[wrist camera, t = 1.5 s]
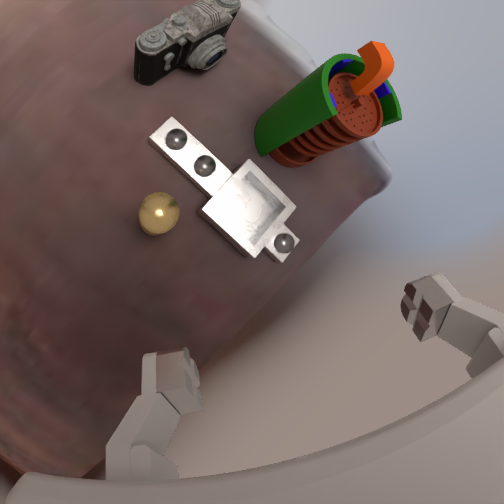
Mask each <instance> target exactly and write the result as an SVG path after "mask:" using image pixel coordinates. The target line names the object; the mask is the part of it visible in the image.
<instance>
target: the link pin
mask: <svg viewBox="0 0 504 504" xmlns="http://www.w3.org/2000/svg"><path fill="white" fill-rule="evenodd" d="M178 218H179V207H178V204H177V202H176V201H175V199H174V198H173V197H172V196H170V195H169V194H166V193H163V192H156V193H152V194H150V195H148V196H147V197H146V198H145V199H144V200H143V201H142V203H141V205H140V208H139V220H140V226H141V228H142V230H143V231H144V232H145V233H147V234H149V235H152V236H157V235H160V234H163V233H165V232H167V231H169V230H170V229H172V228H173V227H174V226H175V224H176V223H177V221H178Z"/></svg>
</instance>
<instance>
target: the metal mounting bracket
mask: <svg viewBox="0 0 504 504" xmlns="http://www.w3.org/2000/svg"><path fill="white" fill-rule="evenodd" d="M149 143H150V144H152V145H153V146H154V147H155V148H156V149H157V150H158V151H159V152H160V153H161V154H162V155H163V156H164V157H166V158H167V159H168V160H169V161H170V162H171V163H172V164H173V165H174V166H175V167H176V168H177V169H178V170H179V171H180V172H182V173H183V174H184V175H185V176H186V177H187V178H188V179H189V180H190V181H191V182H192V183H193V184H194V185H195V186H196V187H198V188H199V189H200V190H201V191H202V192H203V193H204V194H205V195H206V196H207V197H208V198H209V199H208V200H207V201H206V202H205V203H204V204H203V206H202V207H201V208H200V209H199V210H198V211H197V213H198V214H199V215H201V216H202V217H203V218H204V219H205V220H206V221H207V222H208V223H209V224H210V225H211V226H212V227H213V228H215V229H216V230H217V231H218V232H219V233H220V234H221V235H222V236H223V237H224V238H225V239H226V240H228V241H229V242H230V243H231V244H232V245H233V246H234V247H235V248H236V249H237V250H238V251H239V252H241V253H242V254H243V255H244V256H245V257H249V258H256V256H257V255H258V254H259V253H260V251H261V250H262V249H263V250H264V251H265V252H266V253H267V254H268V255H269V256H270V257H271V258H272V259H274V260H275V261H276V262H281V263H282V262H283V261H284V260H285V258H286V257H287V256H288V255H289V253H290V252H291V251H292V250H293V248H294V247H295V246H296V244H297V243H298V242H299V239H298V238H297V237H296V236H295V235H294V234H293V233H292V232H291V231H290V230H289V229H288V228H287V227H286V226H285V225H284V224H283V223H284V222H285V221H286V219H287V218H288V217H289V216H290V214H291V213H292V212H293V211H294V210H295V208H296V206H295V205H294V204H293V203H292V202H291V201H290V200H289V198H288V197H287V196H286V195H285V194H284V193H283V192H282V191H281V190H280V189H279V188H278V187H277V186H276V185H275V184H274V183H273V182H272V181H271V180H270V179H269V178H268V177H267V176H266V175H265V174H264V173H263V172H262V171H261V170H260V169H259V168H258V167H257V166H256V165H255V164H254V163H253V162H252V161H251V160H250V159H248V160H247V161H245V162H244V163H243V164H241V165H240V166H239V167H238V168H237V169H236V170H235V171H234V172H233V173H231V172H230V171H229V170H228V169H227V168H226V167H225V166H224V165H223V164H222V163H221V162H220V161H219V160H218V159H217V158H216V157H215V156H214V155H213V154H212V153H211V152H210V151H208V150H207V149H206V148H205V147H204V146H203V145H202V144H201V143H200V142H199V141H198V140H197V139H196V138H195V137H194V136H192V135H191V134H190V133H189V132H188V131H187V130H186V129H185V128H184V127H183V126H182V125H181V124H179V123H178V122H177V121H176V120H175V119H174V118H173V117H171V118H170V119H169V120H167V121H166V122H165V123H164V124H163V125H162V126H161V127H160V128H159V129H158V130H156V131H155V132H154V133H153V134H152V135H151V136H150V137H149Z"/></svg>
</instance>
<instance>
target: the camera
mask: <svg viewBox="0 0 504 504" xmlns="http://www.w3.org/2000/svg"><path fill="white" fill-rule="evenodd" d="M240 7H241V2H240V0H200V1H196V2H195V3H193V4H190V5H188V6H185V7H183V8H182V9H181V10H179V11H177V12H175V13H173V14H172V15H171V17H170V19H169V18H165V19H164V22H163V23H161V24H159V25H158V26H156V27H154V28H152V29H150V30H147V31H145V32H143V33H142V34H141V35H140V36H139V37H137V40H136V42H135V59H134V78H135V80H136V81H138V82H139V83H140V84H142V85H146V86H151V85H153V84H154V83H156V82H157V81H158V80H160V79H161V78H163V77H164V76H166V75H167V74H169V73H170V72H172V71H173V70H175V69H176V68H178V67H179V66H181V65H182V66H184V67H187V66H191V67H192V68H198V69H203V70H207V69H209V68H211V67H212V66H214V65H215V64H216V63H218V62H219V61H220V60H221V59H222V58H223V57H224V55H225V54H226V53H227V48H226V44H225V42H226V40H225V39H224V36H225V34H226V32H227V30H228V29H229V27H230V25H231V23H232V21H233V19H234V18H235V16H236V14H237V12H238V10H239V9H240Z"/></svg>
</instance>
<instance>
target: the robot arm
mask: <svg viewBox="0 0 504 504" xmlns="http://www.w3.org/2000/svg"><path fill="white" fill-rule="evenodd" d="M404 291H405V293H406V294H405V296H404V297H403V298H402V301H401V312H402V314H403V316H404V318H405V320H406V321H407V322H409V323H411V324H413V328H412V330H413V332H414V333H415V335H416V336H417V338H418V339H419V341H420V342H422V341H425V340H427V339H429V338H432V337H434V336H436V335H437V336H438V337H439V338H441V339H443V340H444V341H446V342H448V343H449V344H451V345H452V346H454V347H456V348H457V349H459V350H460V351H462V352H463V353H465V354H467V355H468V356H470V357H471V358H472V359H471V360H470V362H469V363H468V365H467V367H466V370H467V372H468V373H469V375H470V377H471V378H472V379H471V380H470V381H468V382H466V383H465V384H463V385H462V386H460V387H458V388H457V389H455V390H454V391H452V392H450V393H448V394H447V395H445V396H443V397H442V398H440V399H438V400H437V401H434V402H433V403H431V404H429V405H427V406H425V407H423V408H422V409H419V410H418V411H416V412H414V413H412V414H410V415H408V416H406V417H403V418H401V419H399V420H397V421H395V422H393V423H391V424H388V425H386V426H384V427H382V428H380V429H378V430H375V431H373V432H370V433H368V434H365V435H363V436H360V437H358V438H355V439H353V440H350V441H347V442H344V443H341V444H339V445H336V446H333V447H330V448H327V449H324V450H321V451H318V452H314V453H312V454H308V455H304V456H301V457H298V458H294V459H291V460H286V461H283V462H279V463H274V464H270V465H266V466H261V467H257V468H252V469H247V470H242V471H237V472H231V473H224V474H217V475H210V476H203V477H194V478H183V479H179V473H178V466H177V465H176V464H175V463H173V462H171V461H170V460H168V459H166V458H164V457H163V456H164V454H165V452H166V449H167V447H168V445H169V443H170V440H171V438H172V436H173V434H174V432H175V429H176V427H177V425H178V422H179V420H180V418H181V415H183V414H189V413H194V412H199V411H203V402H202V395H201V393H200V391H199V390H198V387H199V385H200V378H199V373H198V369H197V366H196V364H195V362H194V360H193V359H191V358H190V355H189V351H188V349H187V348H186V347H183V348H177V349H171V350H165V351H159V352H154V353H148V354H144V356H143V358H142V385H141V395H139V396H137V398H136V399H135V401H134V402H133V404H132V405H131V407H130V408H129V410H128V412H127V413H126V415H125V416H124V418H123V419H122V421H121V423H120V424H119V426H118V427H117V429H116V430H115V432H114V434H113V435H112V437H111V438H110V440H109V442H108V443H107V445H106V480H91V479H79V478H69V477H61V476H53V475H47V474H41V473H36V472H27V473H25V474H24V475H23V476H22V477H21V478H20V479H19V480H18V482H17V483H16V484H15V486H14V487H13V489H12V490H11V491H10V493H9V494H8V496H7V499H6V502H5V504H504V314H503V313H501V312H498V311H496V310H494V309H492V308H490V307H487V306H485V305H483V304H480V303H478V302H476V301H474V300H471V299H469V298H467V297H464V298H462V296H461V295H460V294H459V293H458V292H457V291H456V290H455V288H454V287H453V286H452V285H451V284H450V283H449V282H448V281H447V279H446V278H445V277H444V276H443V275H442V274H441V273H439V272H435V273H433V274H430V275H428V276H424V277H422V278H419V279H417V280H414V281H412V282H409V283H407V284H406V286H405V289H404Z"/></svg>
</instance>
